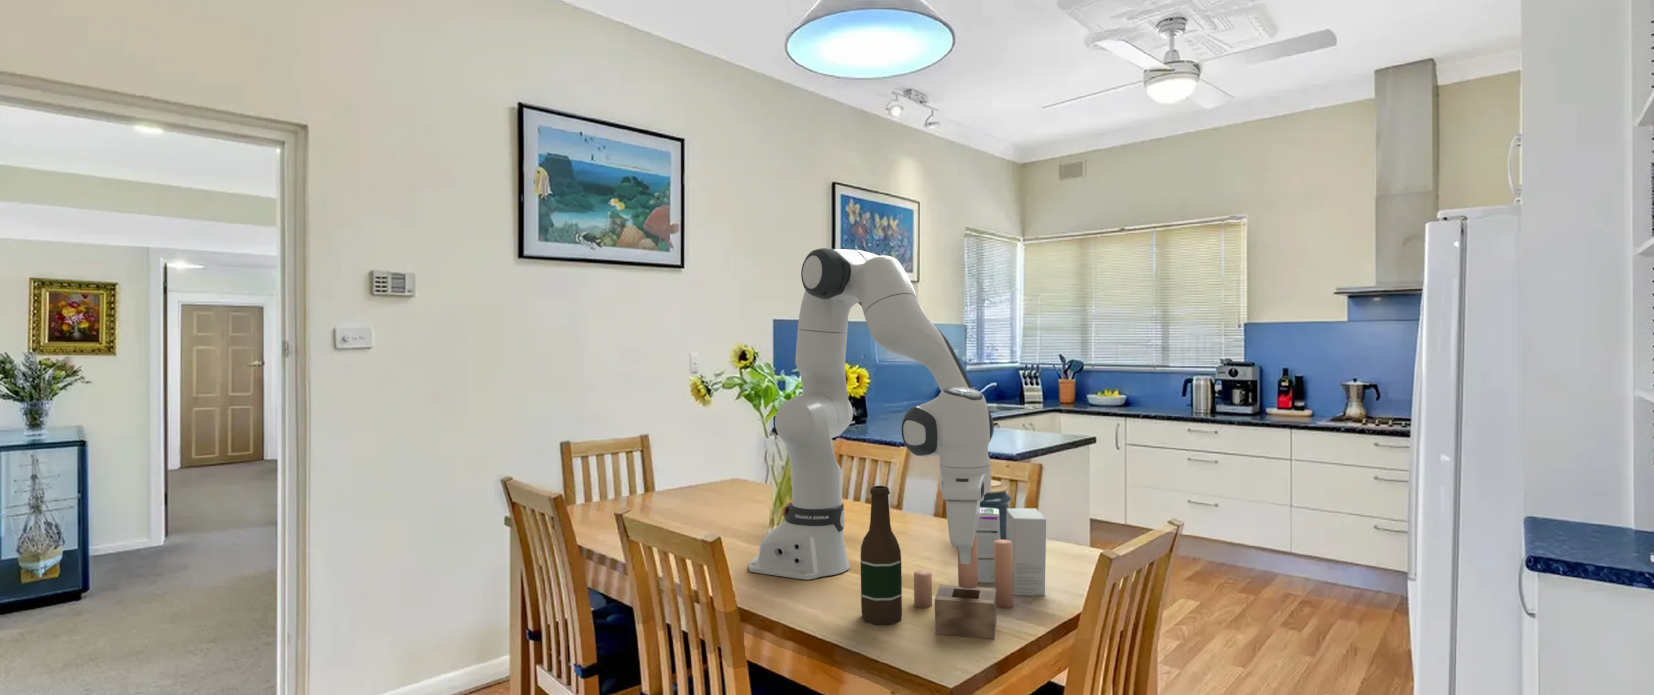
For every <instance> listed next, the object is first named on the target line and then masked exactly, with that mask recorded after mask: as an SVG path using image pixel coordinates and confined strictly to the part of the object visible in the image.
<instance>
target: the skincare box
mask: <svg viewBox="0 0 1654 695" xmlns="http://www.w3.org/2000/svg"><path fill="white" fill-rule="evenodd" d="M1006 540H1009V541H1011V542H1012V562H1013V597H1014V596H1015V597H1017V596H1018V597H1019V596H1020V597H1021V596H1027V597H1028V596H1029V597H1030V596H1034V597H1035V596H1036V597H1037V596H1038V597H1039V596H1043V597H1044V596H1045V595H1046V560H1047V559H1046V557H1047V556H1046V549H1047V548H1046V546H1047V519H1046V517H1045V516H1044V515H1043V513H1042V512H1040V511H1039V510H1038V508H1035V507H1034V508H1031V507H1030V508H1025V507H1023V508H1019V507H1018V508H1016V507H1015V508H1010V507H1009V509H1007V520H1006Z"/></svg>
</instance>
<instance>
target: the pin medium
mask: <svg viewBox="0 0 1654 695" xmlns="http://www.w3.org/2000/svg"><path fill="white" fill-rule="evenodd" d="M957 580H958V582H957V583H958V585H957V586H960V587H962V588H976V587H979V582H978V558H977V534H976V535H975V538H974V542H973V546H972V547H971V563H970V564H962V563H961V562H960V551H959V547H957Z"/></svg>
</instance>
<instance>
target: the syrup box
mask: <svg viewBox="0 0 1654 695" xmlns="http://www.w3.org/2000/svg"><path fill="white" fill-rule="evenodd" d="M976 534H977V558H978V583H981V584H982V583H984V584H995V582H994V541H995V540H1001V537H1000V519H999V509H997V508H980V520H979V523H978V527H977V531H976Z"/></svg>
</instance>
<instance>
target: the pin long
mask: <svg viewBox="0 0 1654 695" xmlns="http://www.w3.org/2000/svg"><path fill="white" fill-rule="evenodd" d="M994 582H995V583H994V588H996V608H997V607H998V608H1001V609H1008V608H1009V609H1010V608H1013V607H1014V595H1013V562H1012V542H1011V541H1009V540H995V541H994Z"/></svg>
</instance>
